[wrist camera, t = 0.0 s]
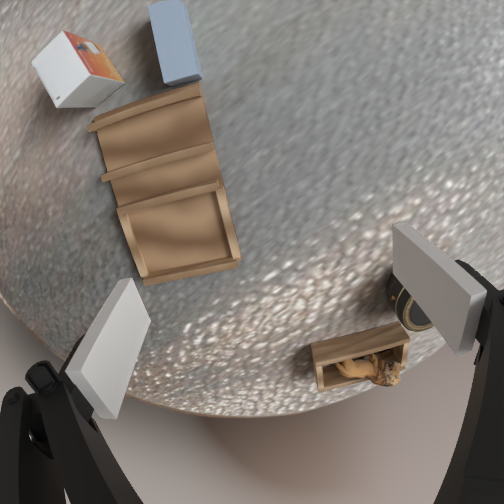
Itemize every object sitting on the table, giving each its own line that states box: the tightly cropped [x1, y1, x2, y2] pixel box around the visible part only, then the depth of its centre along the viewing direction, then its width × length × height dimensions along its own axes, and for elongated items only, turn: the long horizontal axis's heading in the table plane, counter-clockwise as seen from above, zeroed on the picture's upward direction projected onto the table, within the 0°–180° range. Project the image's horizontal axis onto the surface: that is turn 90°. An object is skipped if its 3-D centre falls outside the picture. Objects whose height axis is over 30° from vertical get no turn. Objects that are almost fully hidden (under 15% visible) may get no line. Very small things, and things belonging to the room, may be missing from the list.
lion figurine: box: [334, 353, 401, 387], centre depth 50 cm, size 15×5×9 cm, turn 82°
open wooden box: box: [311, 321, 410, 392], centre depth 52 cm, size 8×17×5 cm, turn 102°
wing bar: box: [148, 0, 203, 87], centre depth 31 cm, size 4×11×5 cm, turn 12°
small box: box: [31, 30, 125, 108], centre depth 29 cm, size 8×6×10 cm
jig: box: [87, 82, 242, 286], centre depth 39 cm, size 25×15×4 cm, turn 12°
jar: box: [386, 274, 434, 332], centre depth 45 cm, size 10×10×8 cm
